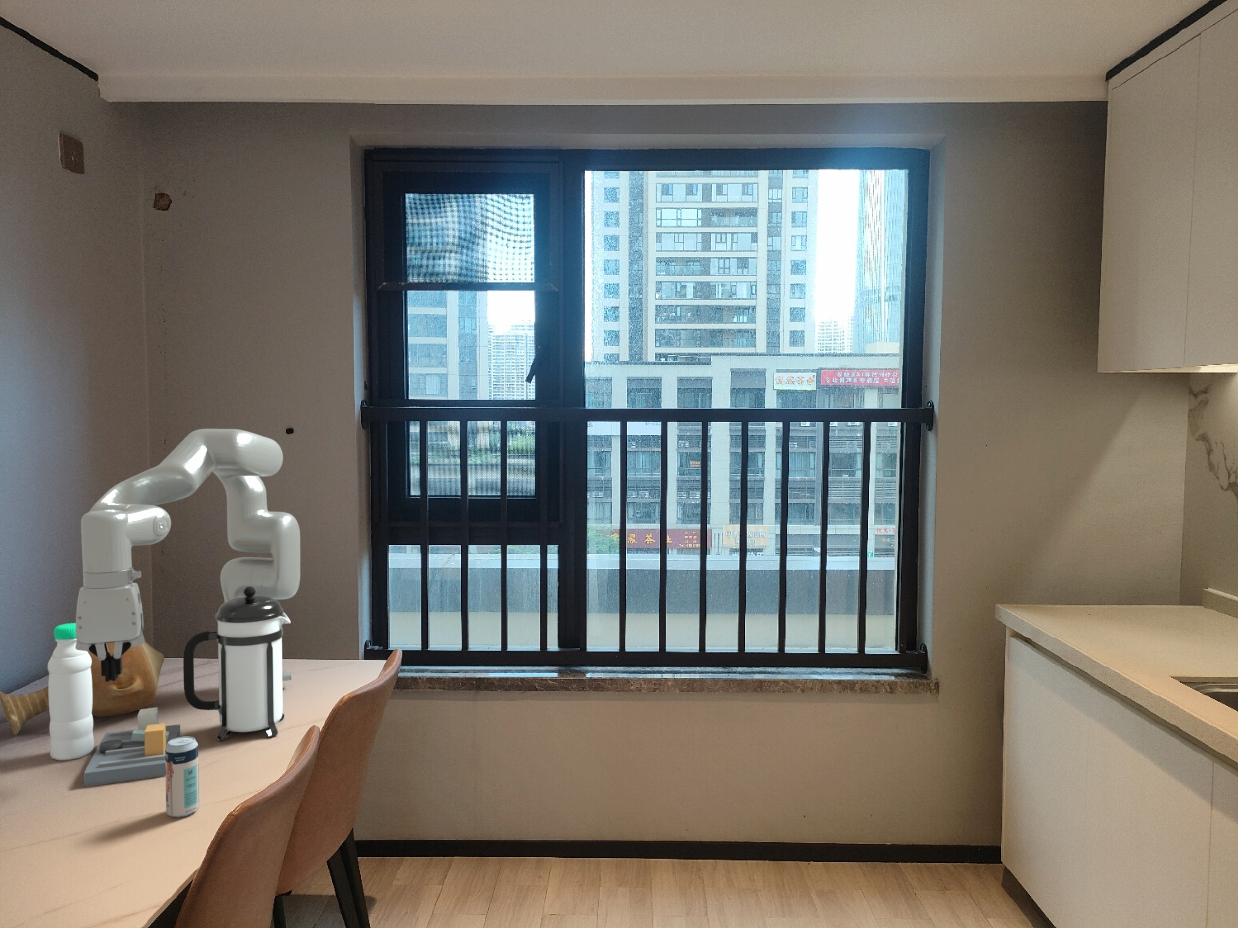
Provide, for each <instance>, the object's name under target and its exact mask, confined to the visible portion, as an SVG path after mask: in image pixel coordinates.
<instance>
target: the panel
mask: <svg viewBox="0 0 1238 928" xmlns="http://www.w3.org/2000/svg"><path fill="white" fill-rule="evenodd" d="M133 731H134V729H128V730H127V729H126V730H119V731H118V730H117V731H110V732H109V731H108V732H105V734H104V736H103V738H101V741H100V743H99V744H98V747H97V748H96V750H95V752H94V754H93V756H92V758H91V759H90V761H89V763H88V765H87V766H86V769H85V771H84V773H83V786H84V787H91V786H92V787H93V786H99V785H106V784H115V783H123V782H129V781H130V782H131V781H136V780H137V781H138V780H146V779H153V778H161V777H166V769H165V754H164V755H156V756H148V757H145V741H131V737H132V733H133ZM166 731H169V735H168V740H167V742H166V746H167V744H168V742H169V741H170V740H172V739H175V738H178V737H181V724H171V725H166Z"/></svg>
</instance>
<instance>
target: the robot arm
mask: <svg viewBox="0 0 1238 928" xmlns="http://www.w3.org/2000/svg"><path fill="white" fill-rule="evenodd" d="M283 454H284V453H283V451H282V448H281V446H280V445H279V443H278V442H277V441H275V440H274V439H272V438H269V437H266V436H263V435H260V434H257V433H254V432H251V431H247V430H242V429H237V428H200V429H196V430H193V431H191V432H190V433H188V435H186V436H185V437H184V439H183V440H181V442H179V444H177V445H176V447H174V449H173V450H172V451H171V452H170V453H169V454H168V455H167V456H166V457H165V458H164V459H163V460H162V461H161V462H160V463H159V464H158V465H156V466H154V467H151V468H149V469H147V470H144V471H142V472H140V473H138V474H135V475H133V476H131V477H128V478H127V479H125V480H123V481H121V482H119V483H117V484H116V485H114V486H113V487H111V488H109V489H108V490H107V491H106V492H105V493H104V494H103V495H102V496H101V497H100V498H99V499H98V500H97V501H96V502H95V503H94V505H92V507H91V508H90V510H89V511H88V512H86V513H84V514H83V515H82V517H81V519H80V533H81V555H82V556H81V557H82V576H83V577H82V581H83V583H82V585H83V586H81V587H80V588H79V591H78V596H77V602H76V614H75V623H76V639H77V643H76V647H75V648H76V650H81V651H90V652H91V653H93V654H94V655H96V656H97V657H98V659H99V660H101V675H102V676H105V682H108V681H110V680H112V681H116V679H117V678H118V675H119V674H121V673H122V659H121V656H122V655H123V654H124V653H125V652H126V651H127V650H128V649H129V648H131V647H135V646H138V645H141V644H143V643H144V641H145V642H146V640H145V637H144V633H143V632H144V626H145V625H144V613H143V604H142V599H141V592H140V587H139V584H138V583H137V582H133V581H134V580H137V579H141V578H142V571H141V570H135V568H133V564H132V547H134V546H135V547H137V546H148V545H149V546H150V545H154V544H157V543H159V542H161V541H163V540H164V539H165V538H167V535H168V534H169V533H170V532H171V531H170V530H171V527H172V520H171V517H170V514H169V513H168V512H167V511H166V510H165V509H164V508H163V507H160V506H159V505H163V504H168V503H173V502H176V501H179V500H181V499H185V498H187V497H190V496H192V495H193V494H194V493H195V492H196V491H197V490H198V488H199V487H200V486H202V484H203V483H204V482H205V481H206V479H208V477H209V476H210V475H211V474H212V473H213V474H214V475H215V476H216V477H217V478H218V479H219V481H220V482H221V483H222V486H223V487H224V491H225V493H226V494H225V495H226V510H227V511H226V516H227V517H226V521H227V522H226V523H227V524H226V525H227V526H226V527H227V542H228V544H229V546H230V548H231V549H233V550H235V551H238V552H242V553H243V552H245V553H268V554H269V553H270V554H271V557H262V556H261V557H258V556H257V557H256V556H253V557H252V556H249V557H248V556H242V557H236V558H233V559H231V560H229V561H227V562H226V563H225V564H224V565H223V567H222V568H221V571H220V577H219V578H220V587H221V591H222V595H223V599H224V603H225V602H227V601H229V600H232V599H235V598H240V597H247V596H245V594H244V593H243V592H244V590H245V588H246V587H249V586H251V587H254V588H255V591H256V592H255V595H254V596H264V597H270V598H273V599H275V600H287V599H290V598H293V597H294V596H295V595H296V594H297V592H298V591H299V587H300V582H301V530H300V526H299V523H298V521H297V518H295V516H294V515H292V514H291V513H288V512H284V511H269V510H268V502H267V501H268V500H267V490H266V489H267V488H266V486H265V484H264V481H263V480H262V478H260V477H271V476H274V475H275V474H277V473H278V472H279V471H280V469H281V467H282V465H283V462H284V455H283ZM125 641H126V642H125ZM112 642H115V647H114V653H113V655H112V656H111V655H110V653H109V651H108V647H107V643H112ZM282 681H283V682H285V681H292V671H288V672H287V670H282Z"/></svg>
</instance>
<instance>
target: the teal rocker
mask: <svg viewBox="0 0 1238 928" xmlns="http://www.w3.org/2000/svg"><path fill="white" fill-rule="evenodd" d="M133 730H134V731H133V733H132V737H131V741H145V730H141V729H138V728H134V729H133ZM168 735H169V731H166V742H167V740H168Z"/></svg>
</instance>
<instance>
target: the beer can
mask: <svg viewBox="0 0 1238 928" xmlns="http://www.w3.org/2000/svg"><path fill="white" fill-rule="evenodd" d="M165 769H166V776H165V809H166V810H165V812H166V815H168V816H170V817H172V818H185V817H188V816H190V815H193V814H194V813H195V812H196V811H197V810H199V808H200V783H199V782H200V781H199V780H200V779H199V778H200V777H199V770H200V769H199V743H198V742H197V740H196V738H195V737H194V736H188V735H187V736H180V737H178V738H175V739H172V740H170V741H169V742H168V744H167V746H166V748H165Z"/></svg>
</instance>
